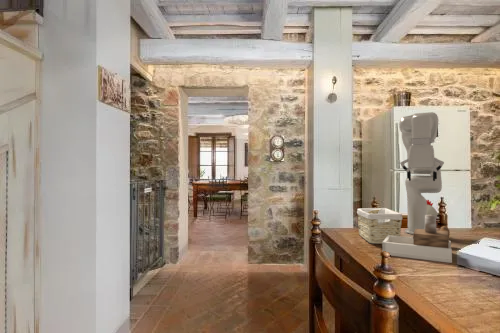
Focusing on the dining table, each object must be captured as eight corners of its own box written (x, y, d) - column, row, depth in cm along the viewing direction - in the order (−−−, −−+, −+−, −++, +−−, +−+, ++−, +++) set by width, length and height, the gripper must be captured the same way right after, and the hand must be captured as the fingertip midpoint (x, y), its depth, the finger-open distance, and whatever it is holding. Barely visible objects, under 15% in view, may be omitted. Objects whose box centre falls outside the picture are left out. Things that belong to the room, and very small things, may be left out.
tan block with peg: (413, 253, 129) (412, 216, 129) (415, 246, 139) (414, 212, 139) (449, 257, 122) (448, 218, 122) (448, 250, 133) (447, 214, 133)
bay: (382, 254, 132) (382, 242, 132) (388, 245, 147) (388, 234, 147) (452, 262, 120) (451, 249, 120) (450, 252, 134) (450, 240, 134)
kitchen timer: (410, 221, 211) (410, 199, 211) (428, 220, 214) (427, 198, 214) (426, 225, 198) (426, 201, 198) (445, 224, 201) (444, 200, 201)
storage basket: (356, 234, 173) (355, 207, 173) (387, 234, 172) (386, 207, 172) (368, 245, 149) (367, 213, 150) (404, 245, 148) (403, 213, 148)
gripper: (443, 141, 141) (444, 180, 141) (400, 143, 150) (401, 179, 150) (443, 141, 134) (444, 181, 135) (399, 143, 143) (399, 181, 144)
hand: (421, 180), depth 142 cm, fingers open, 9 cm apart
